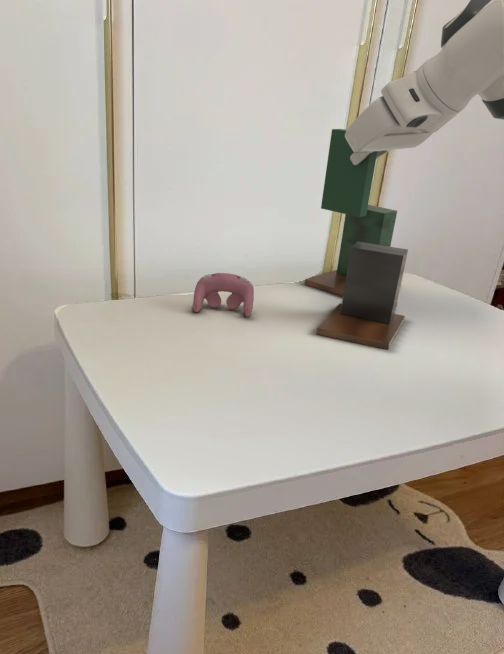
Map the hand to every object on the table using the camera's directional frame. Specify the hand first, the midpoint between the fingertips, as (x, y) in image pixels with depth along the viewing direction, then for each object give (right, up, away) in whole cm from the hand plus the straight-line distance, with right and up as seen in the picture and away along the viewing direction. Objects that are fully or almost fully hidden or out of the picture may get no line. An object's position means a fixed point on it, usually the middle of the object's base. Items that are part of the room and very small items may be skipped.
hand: (359, 160), depth 105 cm
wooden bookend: (-1, -28, -4) cm, 29 cm away
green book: (-2, -7, +5) cm, 9 cm away
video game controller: (-23, -25, 0) cm, 34 cm away
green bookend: (+2, -18, +15) cm, 24 cm away
